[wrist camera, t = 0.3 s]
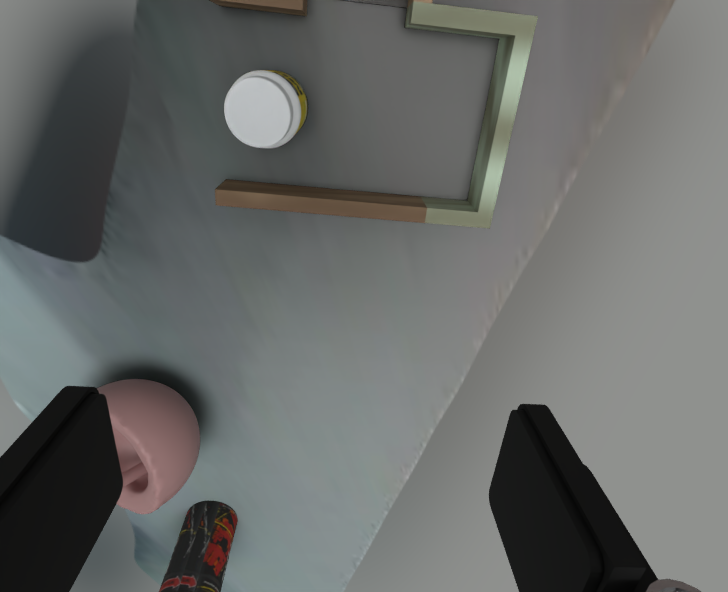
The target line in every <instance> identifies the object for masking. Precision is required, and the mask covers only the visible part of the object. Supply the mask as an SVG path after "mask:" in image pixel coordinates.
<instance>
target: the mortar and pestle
mask: <svg viewBox="0 0 728 592" xmlns="http://www.w3.org/2000/svg"><path fill="white" fill-rule="evenodd" d="M97 390H98V391H99V394H104V395H105V396H106V399H107V404H108V409H109V414H110V419H111V423H112V428H113V433H114V438H115V443H116V448H117V453H118V458H119V463H120V468H121V472H122V477H123V488H122V492H121V495H120V498H119V500H118V502H117V503H116V504H118V505H119V506H120V507H122V508H124V509H129V510H130V511H133V512H135V513H138V514H149V513H152V512H153V511H155V510H157V509H158V508H159V507H160V506H161V505H163V504H164V503H166V502H167V501H168V500H170V499H171V498H172V497H173V496H174V495H175V494H176V493H177V492H178V491H179V490H180V489H181V488H182V486H183V485H184V484H185V483H186V481H187V480H188V478H189V476H190V475H191V473H192V471H193V469H194V466H195V464H196V461H197V458H198V454H199V448H200V431H199V426H198V421H197V419H196V416H195V414H194V412H193V410H192V408H191V407H190V405H189V404H188V402H187V401H186V400H185V399H184V398H183V397H182V396H181V395H180V394H179V393H177V392H176V391H175V390H173V389H172V388H170V387H168V386H166V385H164V384H161V383H158V382H155V381H151V380H145V379H127V380H120V381H116V382H112V383H109V384H106V385H103V386H101V387H99V388H97Z"/></svg>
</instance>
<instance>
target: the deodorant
mask: <svg viewBox="0 0 728 592" xmlns="http://www.w3.org/2000/svg"><path fill="white" fill-rule="evenodd" d="M237 521H238V520H237V515H236V513H235V511H234V510H233V509H232V508H231V507H229V506H228V505H226V504H223V503H221V502H216V501H203V502H199V503H197V504H195V505H193V506H192V507H191V508H190V509H189V510H188V512H187V515H186V518H185V521H184V523H183V526H182V529H181V532H180V535H179V537H178V540H177V543H176V546H175V549H174V551H173V554H172V557H171V560H170V563H169V565H168V568H167V571H166V574H165V576H164V579H163V582H162V585H161V588H160V591H159V592H220V591H221V587H222V583H223V579H224V575H225V571H226V567H227V562H228V558H229V554H230V550H231V546H232V542H233V537H234V533H235V529H236V525H237Z"/></svg>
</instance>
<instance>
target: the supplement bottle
mask: <svg viewBox="0 0 728 592" xmlns="http://www.w3.org/2000/svg"><path fill="white" fill-rule="evenodd" d="M307 113H308V101H307V97H306V94H305V91H304V89H303V88H302V86H301V85H300V83H299V82H298V81H297V80H296V79H295V78H294V77H292V76H291V75H289V74H287V73H284V72H281V71H274V70H255V71H251V72H248V73H246V74H244V75H242V76H241V77H240V78H238V79H237V80H236V81H235V83H234V84H233V85H232V87H231V89H230V90H229V92H228V94H227V96H226V99H225V104H224V114H225V119H226V122H227V125H228V127H229V129H230V130H231V132H232V133H233V134H234V136H235V137H236V138H238V139H239V140H240V141H241V142H243V143H245V144H247V145H249V146H252V147H256V148H276V147H280V146H282V145H283V144H285V143H287V142H288V141H289V140H291V139H292V137H293V136H294V135H295V134H296V133H297V132H298V131H299V130H300V128H301V127H302V126H303V124H304V122H305V120H306V117H307Z"/></svg>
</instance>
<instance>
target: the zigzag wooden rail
mask: <svg viewBox="0 0 728 592" xmlns="http://www.w3.org/2000/svg"><path fill="white" fill-rule="evenodd" d="M210 1H211V2H213V3H215V4H217V5H219V6H225V7H233V8H242V9H250V10H259V11H267V12H276V13H285V14H293V15H302V16H307V0H210ZM345 1H353V2H361V3H369V4H378V5H386V6H394V7H403V8H407V12H406V21H405V28H413V29H421V30H430V31H438V32H447V33H455V34H464V35H472V36H481V37H489V38H498V39H499V44H498V49H497V54H496V59H495V64H494V69H493V74H492V79H491V84H490V89H489V94H488V99H487V104H486V109H485V114H484V119H483V124H482V129H481V134H480V139H479V144H478V149H477V154H476V159H475V164H474V169H473V174H472V179H471V184H470V190H469V195H468V200H467V201H464V200H452V199H441V198H430V197H419V196H408V195H396V194H385V193H374V192H363V191H352V190H340V189H329V188H318V187H307V186H296V185H284V184H273V183H262V182H251V181H239V180H228V179H226V180H225V181H224V182H223V183H222V184H220V185H219V186H218V187H217V188H216V189H215V198H216V205H219V206H231V207H242V208H254V209H266V210H278V211H290V212H301V213H313V214H325V215H337V216H349V217H360V218H372V219H384V220H396V221H407V222H419V223H431V224H443V225H455V226H466V227H478V228H490V225H491V221H492V216H493V212H494V207H495V203H496V199H497V194H498V190H499V185H500V181H501V177H502V172H503V168H504V163H505V159H506V155H507V150H508V146H509V141H510V137H511V133H512V128H513V124H514V119H515V115H516V111H517V106H518V102H519V97H520V93H521V88H522V84H523V80H524V75H525V71H526V66H527V62H528V58H529V53H530V49H531V44H532V40H533V36H534V31H535V27H536V22H537V18H538V16H530V15H522V14H514V13H506V12H497V11H489V10H481V9H473V8H464V7H456V6H448V5H440V4H432V1H433V0H345Z"/></svg>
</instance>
